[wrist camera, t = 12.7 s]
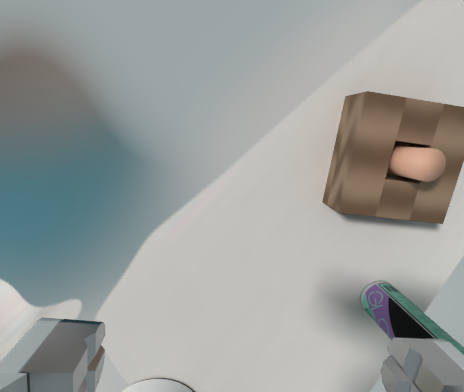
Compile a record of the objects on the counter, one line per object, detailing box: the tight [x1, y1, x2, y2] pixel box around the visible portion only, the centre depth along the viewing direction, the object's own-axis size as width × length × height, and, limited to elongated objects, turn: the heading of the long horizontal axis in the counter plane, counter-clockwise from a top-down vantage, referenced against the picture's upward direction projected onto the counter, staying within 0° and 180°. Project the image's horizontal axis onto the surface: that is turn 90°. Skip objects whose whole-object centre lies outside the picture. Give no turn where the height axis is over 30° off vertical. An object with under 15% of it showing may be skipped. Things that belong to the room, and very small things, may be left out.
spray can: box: [360, 281, 464, 355], centre depth 33 cm, size 6×6×20 cm
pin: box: [387, 146, 446, 182], centre depth 32 cm, size 4×4×7 cm
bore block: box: [323, 91, 464, 224], centre depth 35 cm, size 14×14×5 cm
